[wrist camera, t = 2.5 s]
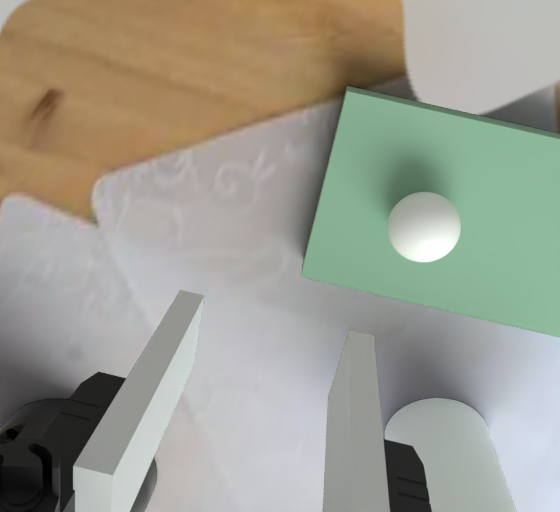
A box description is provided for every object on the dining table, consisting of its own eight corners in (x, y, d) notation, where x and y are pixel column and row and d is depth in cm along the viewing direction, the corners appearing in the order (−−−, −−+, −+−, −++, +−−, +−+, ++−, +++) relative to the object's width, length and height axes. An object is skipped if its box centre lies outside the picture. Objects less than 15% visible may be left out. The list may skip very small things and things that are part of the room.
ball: (376, 236, 31) (381, 265, 27) (396, 175, 29) (403, 198, 25) (439, 251, 30) (452, 282, 27) (463, 191, 29) (479, 215, 25)
